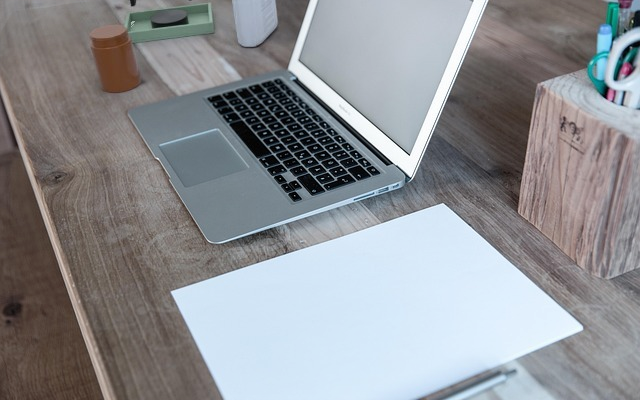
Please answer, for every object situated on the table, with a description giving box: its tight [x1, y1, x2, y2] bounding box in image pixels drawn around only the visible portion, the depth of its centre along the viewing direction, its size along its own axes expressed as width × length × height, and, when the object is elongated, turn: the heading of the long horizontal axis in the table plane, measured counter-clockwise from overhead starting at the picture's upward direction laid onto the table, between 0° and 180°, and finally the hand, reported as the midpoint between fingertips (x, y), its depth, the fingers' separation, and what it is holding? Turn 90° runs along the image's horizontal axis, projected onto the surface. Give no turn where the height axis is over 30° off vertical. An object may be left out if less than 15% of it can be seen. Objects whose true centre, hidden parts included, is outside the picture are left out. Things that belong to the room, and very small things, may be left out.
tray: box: [123, 2, 215, 44], centre depth 125 cm, size 15×10×2 cm
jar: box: [89, 24, 142, 94], centre depth 105 cm, size 6×6×8 cm
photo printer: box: [231, 0, 279, 48], centre depth 116 cm, size 10×4×12 cm, turn 162°
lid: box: [150, 10, 189, 29], centre depth 125 cm, size 6×6×2 cm
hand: (162, 0), depth 122 cm, fingers open, 9 cm apart
